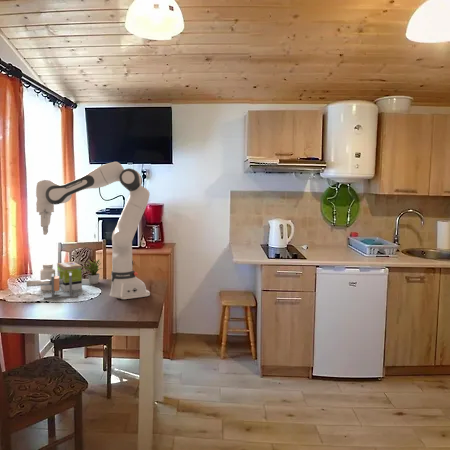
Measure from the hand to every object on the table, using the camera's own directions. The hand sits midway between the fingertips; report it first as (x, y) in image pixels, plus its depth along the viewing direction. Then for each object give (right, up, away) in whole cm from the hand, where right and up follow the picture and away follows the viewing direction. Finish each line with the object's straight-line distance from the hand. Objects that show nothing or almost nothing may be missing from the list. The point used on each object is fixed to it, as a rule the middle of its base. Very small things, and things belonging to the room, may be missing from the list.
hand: (45, 233), depth 224 cm
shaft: (+2, -28, -5) cm, 29 cm away
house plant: (+18, -32, +29) cm, 47 cm away
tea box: (+7, -33, +17) cm, 38 cm away
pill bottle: (-4, -33, +12) cm, 36 cm away
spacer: (+8, -31, -3) cm, 32 cm away
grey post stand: (+10, -35, -2) cm, 36 cm away
